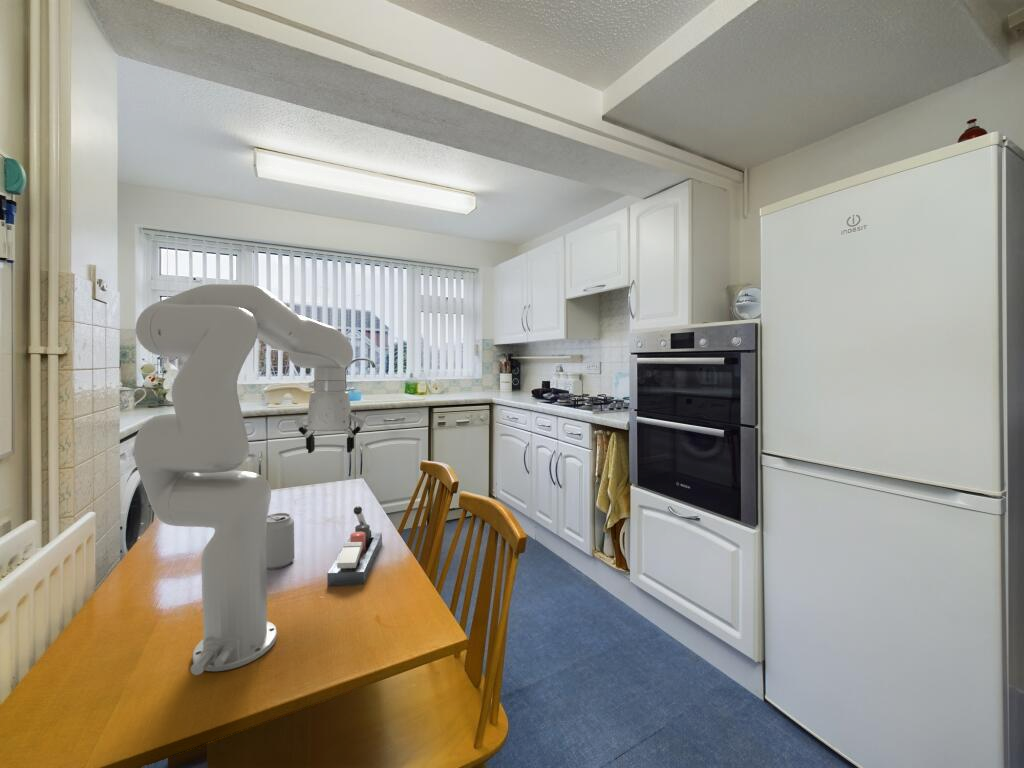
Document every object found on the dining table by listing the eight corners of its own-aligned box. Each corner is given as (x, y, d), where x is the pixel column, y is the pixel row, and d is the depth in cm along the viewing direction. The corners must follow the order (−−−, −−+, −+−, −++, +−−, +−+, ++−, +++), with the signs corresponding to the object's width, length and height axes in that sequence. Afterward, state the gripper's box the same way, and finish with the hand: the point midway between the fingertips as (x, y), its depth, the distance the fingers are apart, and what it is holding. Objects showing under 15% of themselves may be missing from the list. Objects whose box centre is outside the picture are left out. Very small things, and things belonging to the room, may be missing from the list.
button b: (368, 546, 113) (368, 529, 113) (353, 546, 113) (353, 529, 112) (371, 540, 117) (370, 523, 116) (357, 540, 116) (357, 524, 116)
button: (363, 554, 108) (363, 537, 108) (348, 555, 108) (348, 537, 107) (366, 548, 112) (366, 531, 111) (352, 548, 111) (352, 531, 111)
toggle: (368, 530, 117) (359, 506, 117) (360, 533, 117) (351, 509, 117) (370, 527, 120) (361, 503, 119) (362, 530, 119) (353, 506, 119)
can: (280, 572, 104) (279, 523, 103) (253, 568, 105) (251, 520, 105) (301, 558, 111) (300, 512, 110) (275, 555, 113) (274, 509, 112)
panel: (364, 584, 99) (363, 567, 99) (327, 585, 98) (327, 568, 98) (382, 543, 121) (382, 529, 120) (352, 544, 120) (352, 530, 120)
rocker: (355, 567, 99) (355, 562, 99) (337, 568, 99) (336, 562, 98) (362, 547, 106) (362, 541, 105) (345, 547, 105) (344, 542, 105)
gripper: (289, 387, 108) (290, 455, 109) (361, 388, 111) (361, 454, 112) (300, 385, 116) (300, 449, 117) (367, 386, 118) (367, 448, 119)
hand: (330, 451), depth 114 cm, fingers open, 9 cm apart
